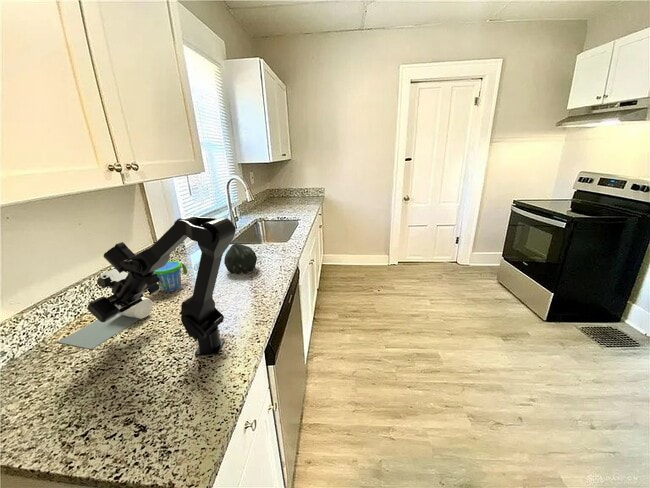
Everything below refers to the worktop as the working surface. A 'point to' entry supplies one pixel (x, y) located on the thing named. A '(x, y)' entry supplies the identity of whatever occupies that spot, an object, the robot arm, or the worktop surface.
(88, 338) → the mat
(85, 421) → the worktop surface
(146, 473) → the worktop surface
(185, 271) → the snack cup
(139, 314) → the white cup
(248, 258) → the squash
